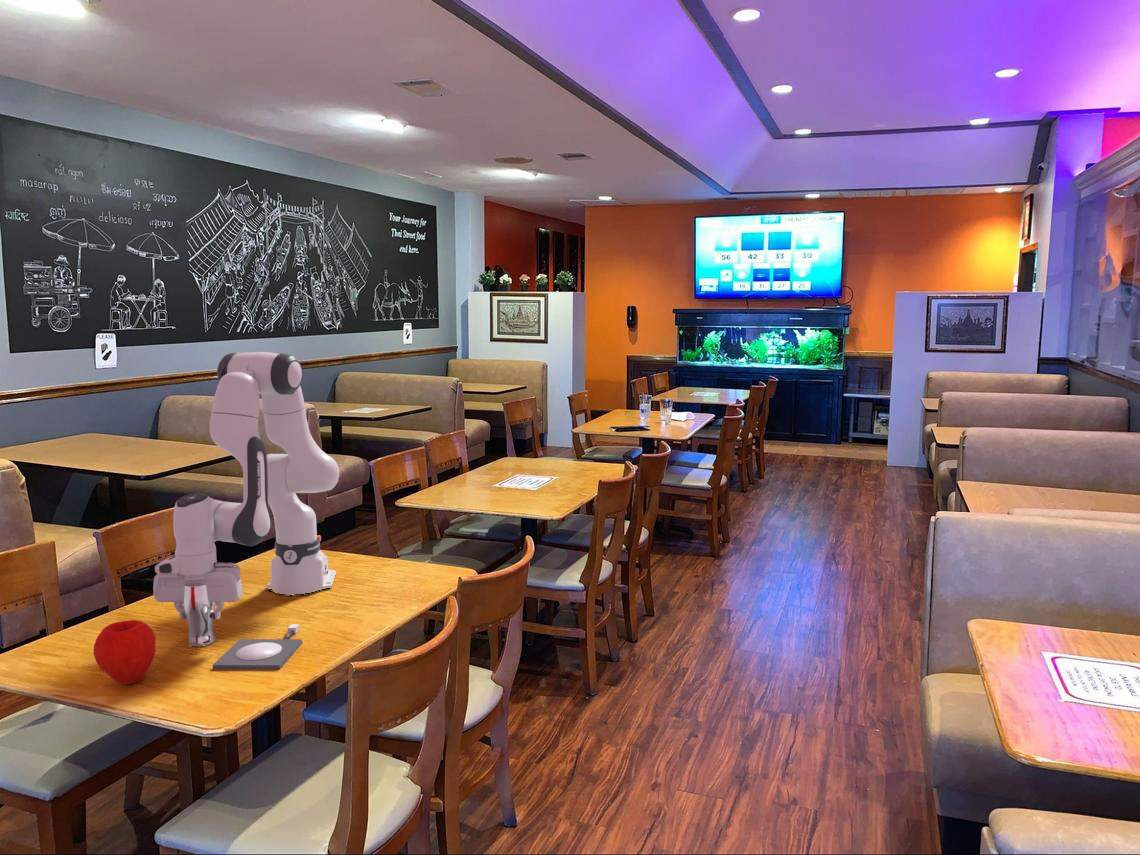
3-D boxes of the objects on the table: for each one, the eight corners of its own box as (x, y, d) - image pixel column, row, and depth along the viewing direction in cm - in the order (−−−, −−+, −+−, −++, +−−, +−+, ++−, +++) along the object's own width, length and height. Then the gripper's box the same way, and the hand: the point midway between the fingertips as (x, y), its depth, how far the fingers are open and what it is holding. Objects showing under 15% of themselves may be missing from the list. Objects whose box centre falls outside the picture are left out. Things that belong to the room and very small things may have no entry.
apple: (83, 691, 178) (78, 630, 176) (122, 668, 190) (118, 611, 188) (134, 696, 176) (129, 634, 174) (170, 672, 188) (166, 614, 186)
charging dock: (253, 630, 212) (253, 624, 212) (313, 630, 212) (313, 624, 211) (212, 669, 189) (212, 662, 189) (279, 669, 189) (279, 662, 188)
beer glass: (183, 649, 200) (179, 587, 198) (188, 638, 207) (184, 578, 205) (215, 646, 202) (211, 585, 200) (219, 635, 209) (215, 576, 207)
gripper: (245, 558, 205) (248, 614, 207) (161, 558, 205) (165, 613, 207) (234, 566, 198) (238, 623, 200) (147, 566, 199) (152, 623, 201)
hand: (200, 618), depth 204 cm, fingers open, 6 cm apart
